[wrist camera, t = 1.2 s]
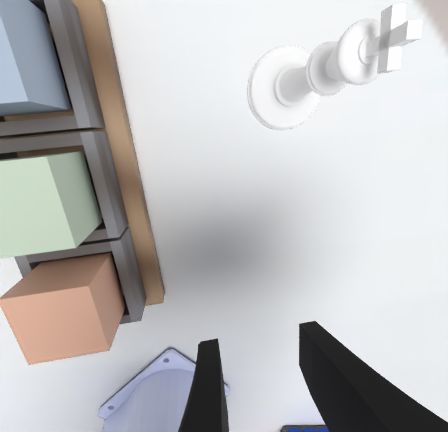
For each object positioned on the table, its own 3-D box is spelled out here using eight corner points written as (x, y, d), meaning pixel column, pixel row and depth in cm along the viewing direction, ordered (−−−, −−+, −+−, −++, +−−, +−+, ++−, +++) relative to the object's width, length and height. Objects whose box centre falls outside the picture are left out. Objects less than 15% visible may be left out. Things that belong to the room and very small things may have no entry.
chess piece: (250, 134, 17) (328, 134, 7) (243, 51, 15) (332, -86, 6) (319, 125, 17) (475, 114, 8) (319, 43, 16) (516, -96, 6)
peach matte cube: (125, 306, 16) (109, 350, 13) (62, 317, 16) (28, 364, 13) (110, 252, 15) (88, 286, 12) (41, 262, 15) (-3, 300, 11)
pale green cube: (102, 221, 14) (76, 248, 11) (29, 231, 14) (-21, 261, 11) (82, 151, 13) (46, 156, 10) (1, 159, 13) (-66, 168, 9)
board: (164, 293, 20) (159, 324, 16) (59, 310, 19) (32, 346, 16) (104, 4, 14) (76, -38, 10) (-55, 12, 13) (-139, -31, 10)
